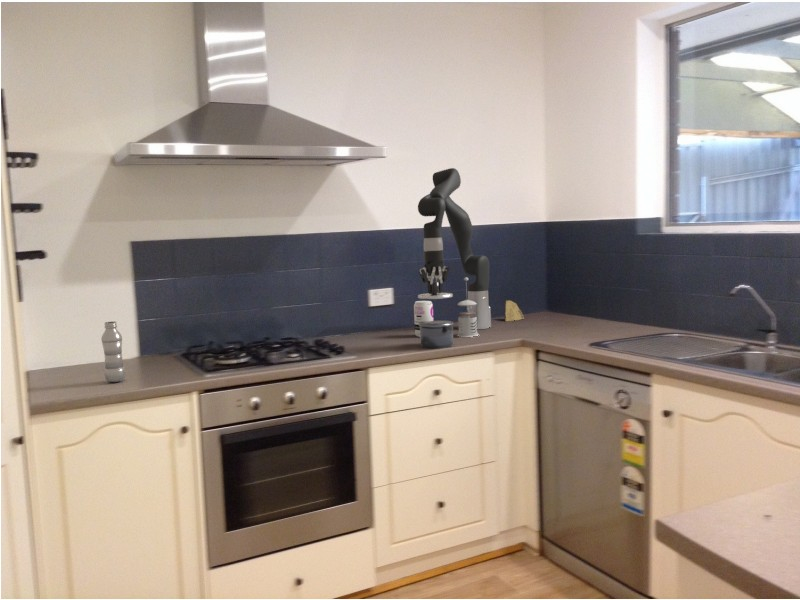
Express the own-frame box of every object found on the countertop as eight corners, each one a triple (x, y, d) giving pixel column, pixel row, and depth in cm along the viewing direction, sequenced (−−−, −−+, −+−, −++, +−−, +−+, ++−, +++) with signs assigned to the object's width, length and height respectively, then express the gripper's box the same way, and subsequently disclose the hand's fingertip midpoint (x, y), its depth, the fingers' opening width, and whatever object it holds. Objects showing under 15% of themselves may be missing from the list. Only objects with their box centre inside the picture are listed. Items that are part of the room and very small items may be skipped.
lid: (439, 294, 274) (439, 279, 274) (459, 296, 263) (459, 281, 262) (411, 297, 267) (410, 282, 267) (430, 299, 256) (430, 284, 255)
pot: (438, 340, 278) (437, 319, 277) (464, 346, 263) (463, 323, 262) (410, 344, 271) (409, 322, 270) (435, 350, 256) (434, 327, 255)
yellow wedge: (523, 313, 335) (503, 311, 336) (526, 301, 329) (505, 298, 330) (523, 329, 327) (503, 326, 328) (526, 316, 321) (505, 314, 322)
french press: (454, 337, 285) (452, 278, 282) (460, 333, 296) (458, 276, 293) (477, 337, 282) (475, 278, 279) (482, 333, 293) (480, 275, 290)
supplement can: (434, 334, 296) (433, 300, 295) (433, 337, 288) (432, 302, 286) (415, 334, 297) (414, 300, 295) (414, 337, 289) (413, 302, 287)
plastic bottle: (107, 385, 219) (102, 324, 217) (103, 381, 225) (97, 322, 223) (128, 381, 223) (123, 322, 221) (123, 378, 229) (118, 320, 227)
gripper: (442, 248, 270) (444, 291, 272) (413, 250, 263) (414, 294, 264) (453, 248, 263) (455, 292, 265) (423, 250, 256) (425, 295, 258)
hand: (435, 293), depth 265 cm, fingers closed on lid, 3 cm apart
